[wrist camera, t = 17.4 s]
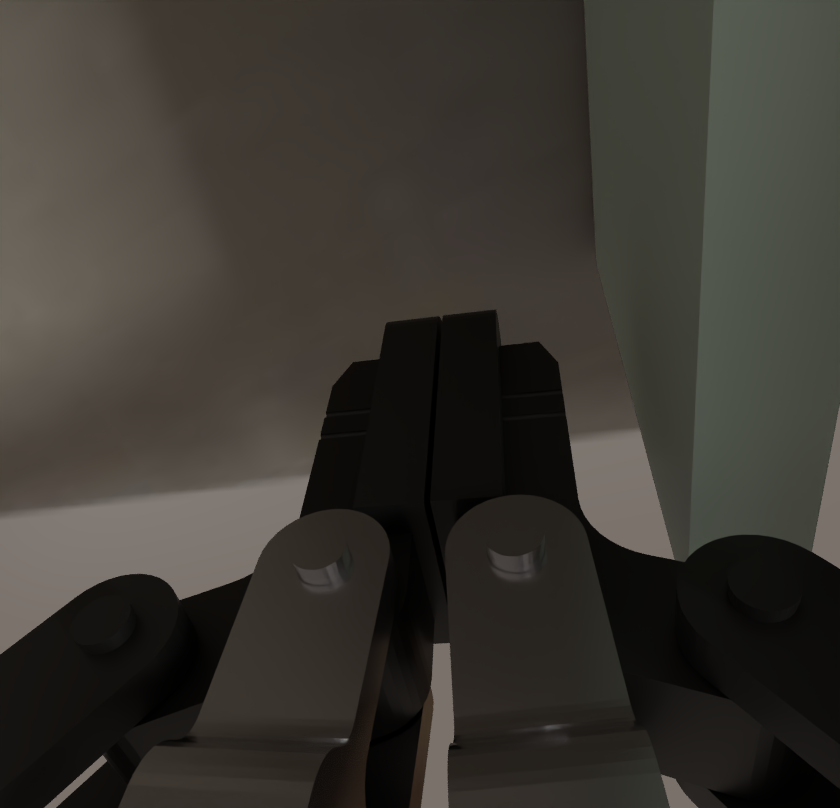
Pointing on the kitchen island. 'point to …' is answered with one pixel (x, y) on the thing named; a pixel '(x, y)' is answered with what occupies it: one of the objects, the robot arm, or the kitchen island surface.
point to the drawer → (722, 250)
